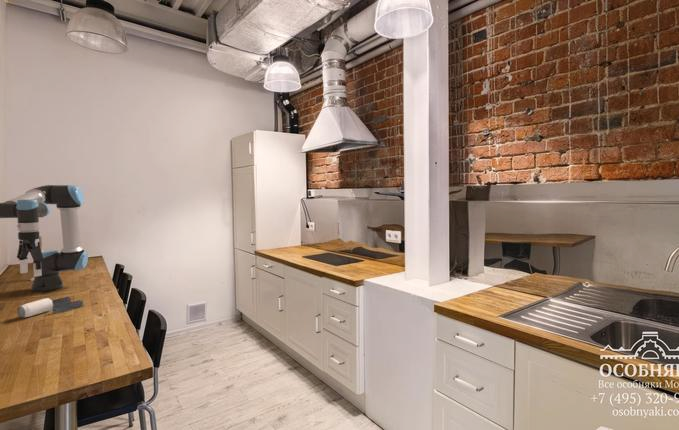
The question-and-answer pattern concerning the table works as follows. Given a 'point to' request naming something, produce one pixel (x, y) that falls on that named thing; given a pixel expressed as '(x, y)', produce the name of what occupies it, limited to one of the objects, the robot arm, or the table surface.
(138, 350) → the table surface
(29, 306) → the can
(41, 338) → the table surface
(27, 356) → the table surface
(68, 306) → the slot guide
